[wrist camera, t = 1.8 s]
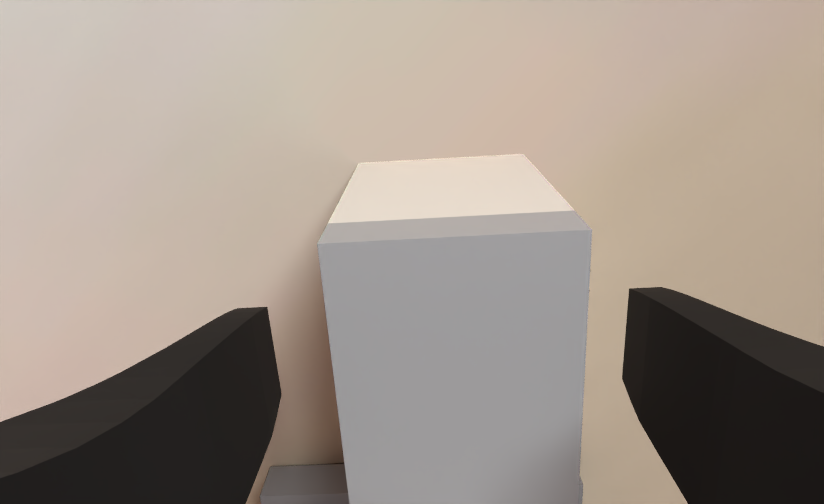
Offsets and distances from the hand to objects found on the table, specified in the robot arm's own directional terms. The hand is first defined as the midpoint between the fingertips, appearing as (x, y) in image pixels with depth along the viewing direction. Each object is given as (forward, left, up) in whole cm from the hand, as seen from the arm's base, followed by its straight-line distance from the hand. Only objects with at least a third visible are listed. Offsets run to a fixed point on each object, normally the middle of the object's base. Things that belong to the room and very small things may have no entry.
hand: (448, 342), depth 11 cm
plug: (0, 0, -4) cm, 4 cm away
